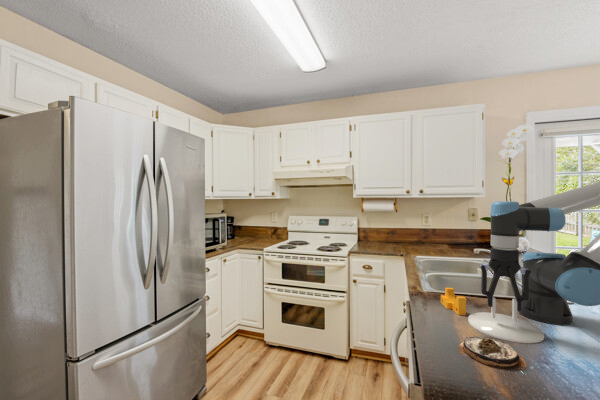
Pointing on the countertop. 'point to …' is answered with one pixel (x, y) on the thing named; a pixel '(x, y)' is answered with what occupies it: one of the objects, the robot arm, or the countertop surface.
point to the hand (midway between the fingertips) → (503, 318)
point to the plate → (506, 328)
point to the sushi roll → (492, 352)
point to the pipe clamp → (454, 301)
